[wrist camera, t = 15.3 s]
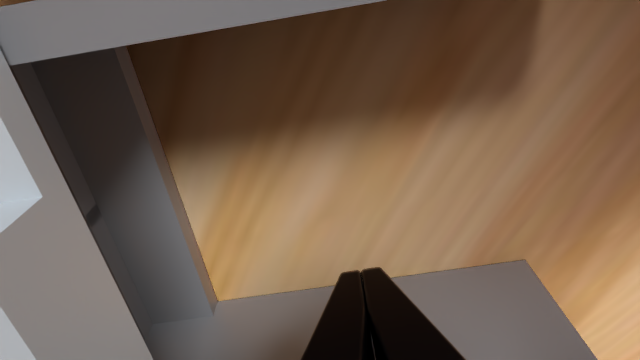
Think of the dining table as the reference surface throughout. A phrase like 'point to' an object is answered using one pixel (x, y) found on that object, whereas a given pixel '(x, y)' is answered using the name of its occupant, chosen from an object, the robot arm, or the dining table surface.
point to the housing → (168, 211)
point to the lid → (51, 256)
